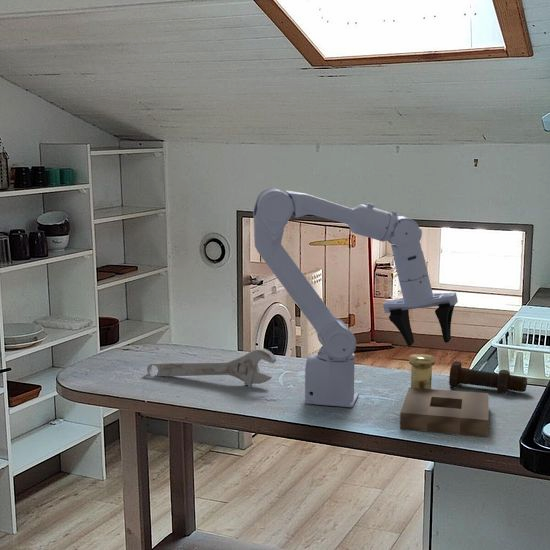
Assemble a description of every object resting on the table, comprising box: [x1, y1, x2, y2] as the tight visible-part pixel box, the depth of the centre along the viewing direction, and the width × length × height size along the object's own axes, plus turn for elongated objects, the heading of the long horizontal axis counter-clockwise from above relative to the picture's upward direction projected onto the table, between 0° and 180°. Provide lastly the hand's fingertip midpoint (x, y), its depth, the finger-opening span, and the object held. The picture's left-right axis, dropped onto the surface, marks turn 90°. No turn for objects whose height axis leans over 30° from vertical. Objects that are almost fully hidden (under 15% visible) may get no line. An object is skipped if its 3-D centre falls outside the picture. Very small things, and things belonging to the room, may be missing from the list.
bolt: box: [448, 360, 528, 394], centre depth 162 cm, size 6×5×15 cm
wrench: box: [146, 347, 277, 387], centre depth 168 cm, size 8×2×30 cm
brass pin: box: [408, 353, 436, 389], centre depth 157 cm, size 5×5×8 cm
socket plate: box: [399, 386, 490, 437], centre depth 145 cm, size 15×15×3 cm
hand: (429, 342), depth 155 cm, fingers open, 7 cm apart
